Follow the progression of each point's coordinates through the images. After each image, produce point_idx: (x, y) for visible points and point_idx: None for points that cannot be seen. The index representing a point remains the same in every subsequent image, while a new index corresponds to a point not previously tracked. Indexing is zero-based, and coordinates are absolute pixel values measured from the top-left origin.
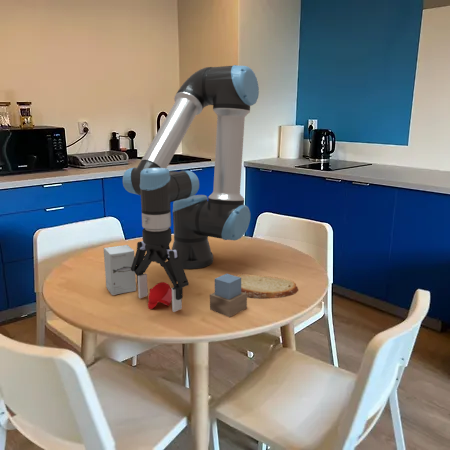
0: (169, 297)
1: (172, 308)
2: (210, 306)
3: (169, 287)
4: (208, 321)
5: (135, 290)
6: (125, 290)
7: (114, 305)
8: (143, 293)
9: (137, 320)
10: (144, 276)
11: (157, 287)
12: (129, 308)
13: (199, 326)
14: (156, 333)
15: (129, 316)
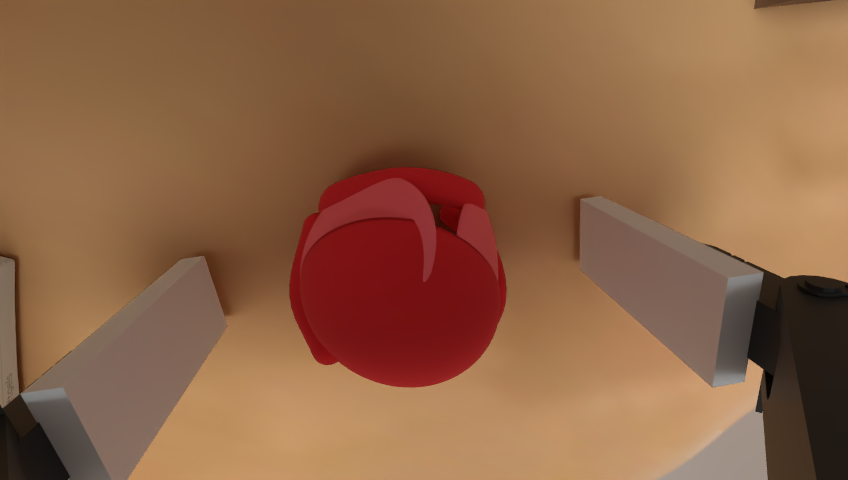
0: (494, 241)
1: (592, 278)
2: (788, 2)
3: (401, 184)
4: (841, 156)
5: (12, 266)
6: (2, 353)
7: (208, 464)
8: (205, 313)
9: (487, 446)
10: (98, 405)
11: (423, 363)
12: (312, 419)
13: (823, 241)
14: (672, 437)
15: (413, 457)
